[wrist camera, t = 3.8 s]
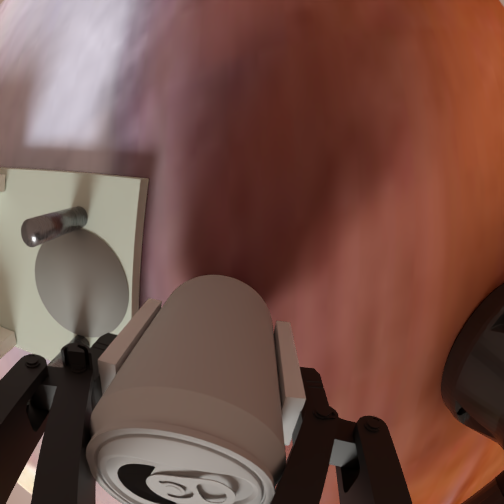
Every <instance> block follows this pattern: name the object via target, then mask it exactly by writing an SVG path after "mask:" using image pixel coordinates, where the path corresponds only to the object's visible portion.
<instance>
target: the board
mask: <svg viewBox="0 0 504 504" xmlns="http://www.w3.org/2000/svg"><path fill="white" fill-rule="evenodd" d="M0 174H6V177H5V191H4V192H0V326H1V327H3V328H6V329H8V330H11V331H13V332H14V333H15V338H16V343H17V345H15V347H18V348H20V349H22V350H25V351H27V352H30V353H32V354H36V355H40V356H42V357H44V358H45V359H48V360H50V361H52V360H53V359H54V358H55V357H56V356H57V355H58V354H59V352H60V351H61V349H62V347H63V346H65V345H67V344H68V343H69V342H70V341H71V340H72V339H73V338H74V337H75V336H76V335H80V336H84V337H85V338H86V339H87V340H88V341H89V344H90V347H92V345H93V344H94V343H95V342H96V341H97V340H98V338H99V337H100V336H102V335H104V334H106V333H112V334H116V335H118V334H119V333H120V332H121V331H122V329H123V328H124V327H125V326H126V325H127V323H128V322H129V321H130V320H131V319H132V317H133V316H134V315H135V314H136V313H137V312H138V310H139V288H140V268H141V252H142V239H143V228H144V217H145V208H146V199H147V190H148V182H149V179H147V178H138V177H129V176H119V175H109V174H98V173H87V172H75V171H61V170H46V169H29V168H7V167H0ZM76 206H81V207H83V208H84V209H85V210H86V212H87V215H88V221H87V224H86V225H85V226H84V227H83V228H81V229H78V230H76V231H73V232H70V233H68V234H65V235H63V236H60V237H58V238H55V239H53V240H50V241H48V242H45V243H43V244H40V245H38V246H35V247H29V246H27V245H26V244H25V243H24V241H23V239H22V236H21V226H22V224H23V222H24V221H25V220H26V219H29V218H33V217H37V216H40V215H44V214H48V213H52V212H56V211H60V210H64V209H68V208H72V207H76Z"/></svg>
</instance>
